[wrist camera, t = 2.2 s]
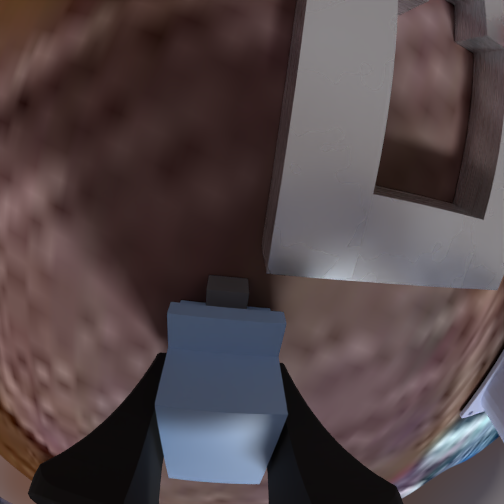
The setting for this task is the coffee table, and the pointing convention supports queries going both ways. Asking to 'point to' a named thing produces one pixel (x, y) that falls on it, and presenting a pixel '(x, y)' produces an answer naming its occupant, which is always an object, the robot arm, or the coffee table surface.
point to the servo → (221, 386)
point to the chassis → (369, 153)
